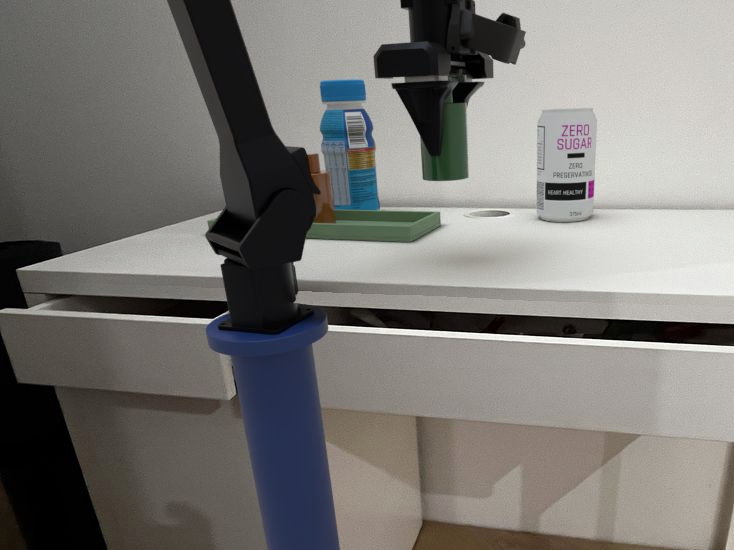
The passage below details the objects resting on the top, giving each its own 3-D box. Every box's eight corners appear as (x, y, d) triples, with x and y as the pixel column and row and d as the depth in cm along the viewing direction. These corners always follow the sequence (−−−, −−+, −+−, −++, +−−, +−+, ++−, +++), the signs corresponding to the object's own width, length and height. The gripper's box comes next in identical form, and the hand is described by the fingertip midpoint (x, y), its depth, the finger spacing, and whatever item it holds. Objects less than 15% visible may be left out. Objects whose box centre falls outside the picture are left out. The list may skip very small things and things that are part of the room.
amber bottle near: (325, 230, 86) (316, 155, 83) (294, 229, 88) (284, 155, 84) (343, 223, 91) (335, 152, 87) (313, 222, 92) (304, 152, 88)
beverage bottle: (321, 218, 98) (304, 80, 90) (338, 209, 106) (324, 81, 98) (373, 218, 97) (361, 78, 89) (386, 209, 104) (376, 79, 97)
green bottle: (460, 181, 64) (456, 75, 60) (415, 181, 65) (408, 77, 62) (474, 175, 68) (471, 76, 65) (432, 175, 70) (427, 78, 66)
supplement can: (562, 211, 97) (564, 108, 92) (604, 217, 91) (609, 107, 86) (525, 218, 92) (525, 110, 87) (566, 225, 86) (570, 110, 81)
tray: (410, 242, 80) (409, 226, 79) (209, 234, 89) (206, 220, 88) (440, 225, 89) (440, 211, 89) (256, 220, 99) (254, 207, 98)
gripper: (488, -42, 49) (492, 162, 55) (538, -9, 66) (537, 145, 72) (363, -28, 53) (379, 163, 59) (440, 0, 69) (447, 146, 75)
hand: (444, 153), depth 66 cm, fingers closed on green bottle, 5 cm apart
